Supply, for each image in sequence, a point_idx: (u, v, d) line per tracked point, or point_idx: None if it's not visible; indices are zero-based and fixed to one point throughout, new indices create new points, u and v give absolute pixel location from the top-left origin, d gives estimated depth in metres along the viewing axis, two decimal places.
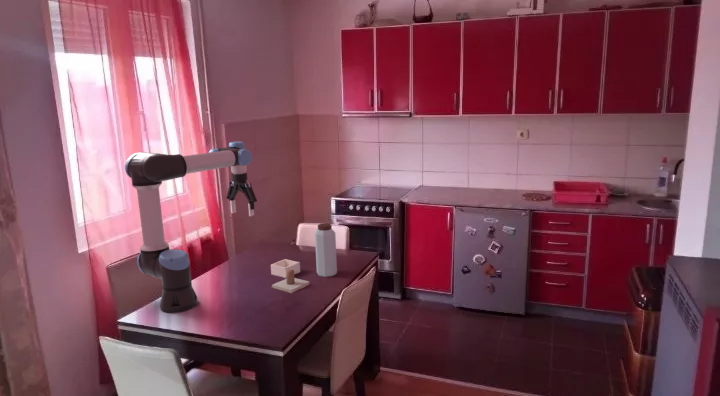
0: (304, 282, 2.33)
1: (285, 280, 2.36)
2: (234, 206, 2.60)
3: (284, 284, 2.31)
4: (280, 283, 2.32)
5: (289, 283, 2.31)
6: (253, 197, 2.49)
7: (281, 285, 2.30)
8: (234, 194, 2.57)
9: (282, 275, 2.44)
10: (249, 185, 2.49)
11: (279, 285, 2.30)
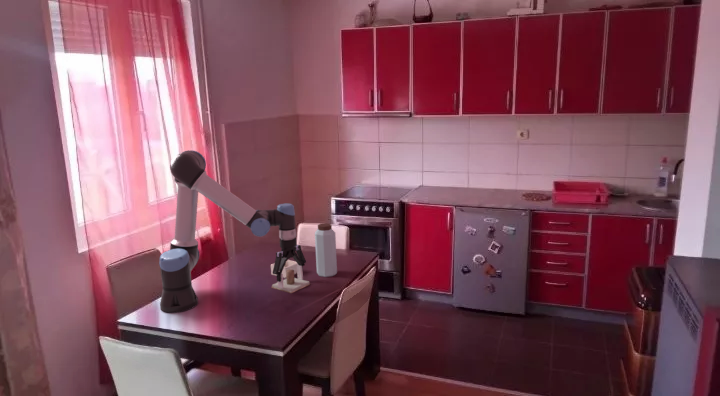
0: (304, 282, 2.33)
1: (285, 280, 2.36)
2: (300, 272, 2.36)
3: (284, 284, 2.31)
4: None
5: (289, 283, 2.31)
6: (275, 269, 2.23)
7: None
8: (295, 259, 2.34)
9: None
10: (277, 255, 2.24)
11: None
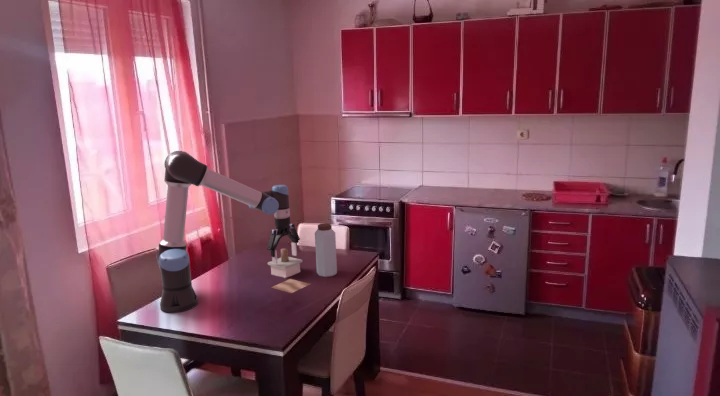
0: (297, 260, 2.49)
1: (280, 258, 2.52)
2: (294, 249, 2.52)
3: (278, 262, 2.47)
4: None
5: (283, 261, 2.46)
6: (269, 245, 2.39)
7: None
8: (290, 237, 2.50)
9: (282, 275, 2.44)
10: (272, 232, 2.40)
11: None
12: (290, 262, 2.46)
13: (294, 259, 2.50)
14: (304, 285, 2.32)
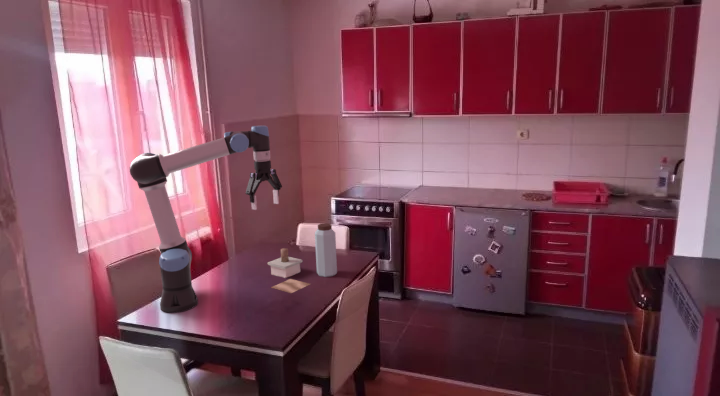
0: (297, 260, 2.49)
1: (280, 258, 2.52)
2: (276, 197, 2.36)
3: (278, 262, 2.47)
4: (275, 261, 2.48)
5: (283, 261, 2.46)
6: (248, 189, 2.22)
7: (276, 263, 2.46)
8: (271, 183, 2.33)
9: (282, 275, 2.44)
10: (251, 175, 2.23)
11: (274, 262, 2.46)
12: (290, 262, 2.46)
13: (294, 259, 2.50)
14: (304, 285, 2.32)
